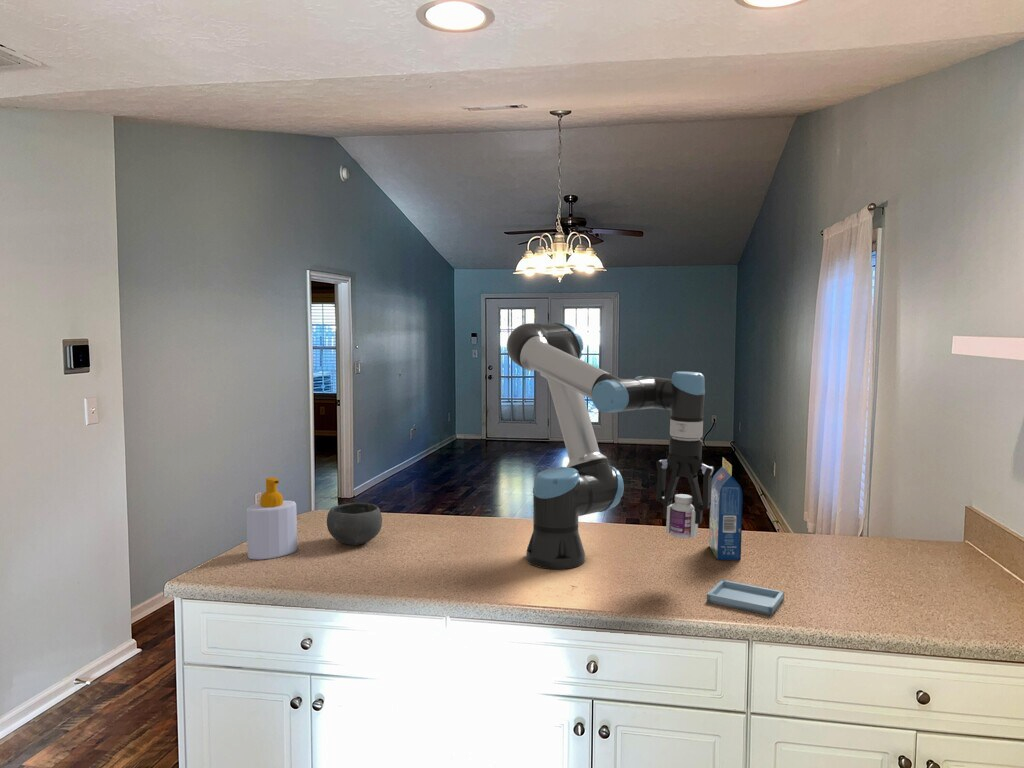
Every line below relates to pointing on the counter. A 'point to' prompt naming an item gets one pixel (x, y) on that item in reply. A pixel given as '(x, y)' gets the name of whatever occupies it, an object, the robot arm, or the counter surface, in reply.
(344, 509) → the bowl
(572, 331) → the robot arm
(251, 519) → the soap bottle
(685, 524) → the pill bottle
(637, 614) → the counter surface
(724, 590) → the tray
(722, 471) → the blue food package
